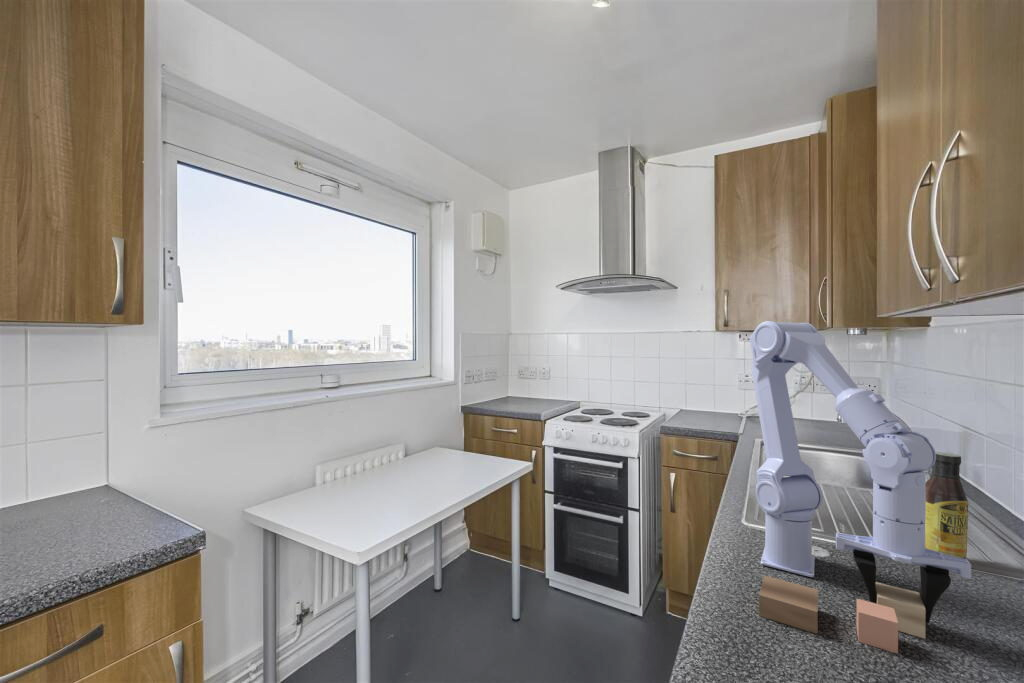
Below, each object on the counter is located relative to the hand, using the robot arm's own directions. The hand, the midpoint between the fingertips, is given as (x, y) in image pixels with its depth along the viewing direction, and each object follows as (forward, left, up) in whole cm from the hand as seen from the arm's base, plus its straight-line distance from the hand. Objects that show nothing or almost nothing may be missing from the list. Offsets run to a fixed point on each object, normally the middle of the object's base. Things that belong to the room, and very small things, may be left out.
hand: (898, 611), depth 64 cm
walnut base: (+7, -13, -1) cm, 15 cm away
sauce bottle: (-31, +10, -2) cm, 33 cm away
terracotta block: (+7, -3, -2) cm, 8 cm away
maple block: (0, 0, -1) cm, 1 cm away
